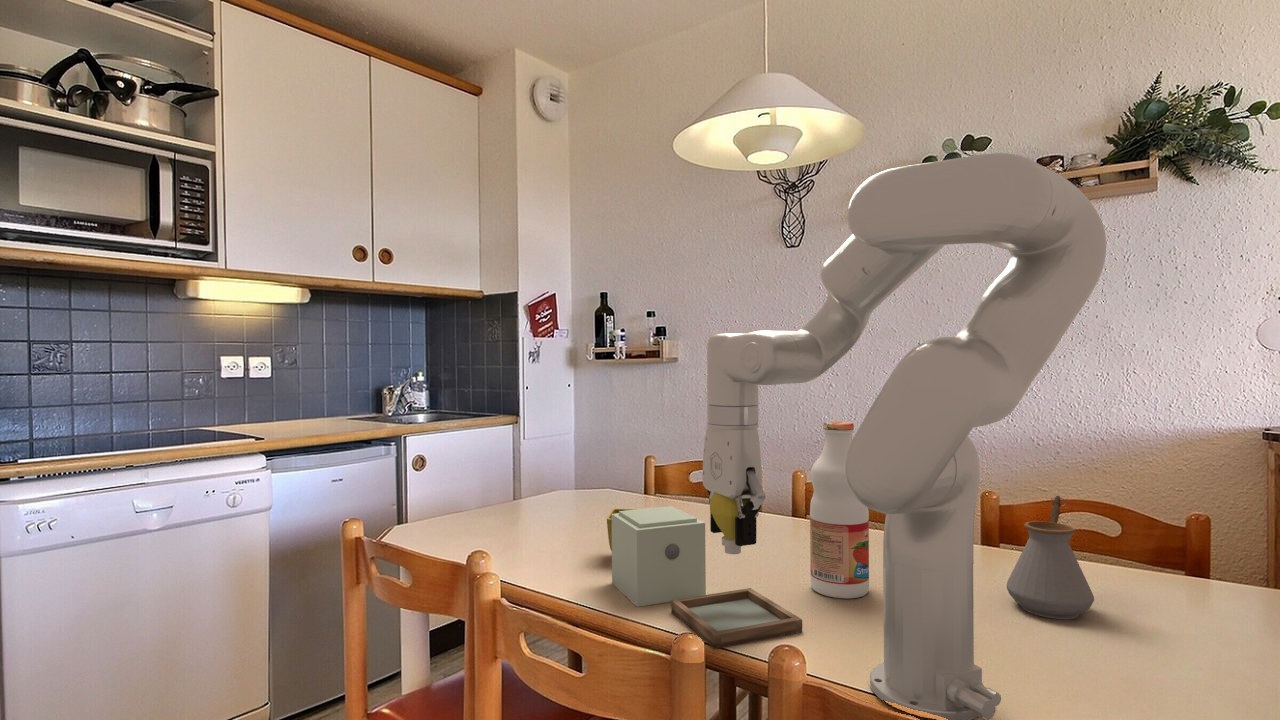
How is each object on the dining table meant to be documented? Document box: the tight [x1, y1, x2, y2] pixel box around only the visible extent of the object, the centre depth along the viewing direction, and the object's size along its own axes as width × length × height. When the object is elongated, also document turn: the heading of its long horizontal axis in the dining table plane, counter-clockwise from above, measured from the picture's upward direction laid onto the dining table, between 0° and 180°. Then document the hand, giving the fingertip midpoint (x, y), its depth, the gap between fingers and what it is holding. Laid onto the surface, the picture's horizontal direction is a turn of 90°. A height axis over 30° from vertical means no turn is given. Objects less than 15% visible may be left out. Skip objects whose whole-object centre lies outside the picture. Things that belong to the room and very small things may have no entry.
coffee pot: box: [1006, 495, 1095, 620], centre depth 106 cm, size 21×12×15 cm, turn 143°
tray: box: [670, 587, 803, 650], centre depth 98 cm, size 14×14×2 cm
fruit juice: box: [809, 421, 870, 599], centre depth 111 cm, size 9×9×28 cm
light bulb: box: [709, 492, 748, 555], centre depth 98 cm, size 7×7×10 cm
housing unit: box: [611, 505, 707, 608], centre depth 112 cm, size 13×12×13 cm
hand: (732, 537), depth 98 cm, fingers closed on light bulb, 6 cm apart
